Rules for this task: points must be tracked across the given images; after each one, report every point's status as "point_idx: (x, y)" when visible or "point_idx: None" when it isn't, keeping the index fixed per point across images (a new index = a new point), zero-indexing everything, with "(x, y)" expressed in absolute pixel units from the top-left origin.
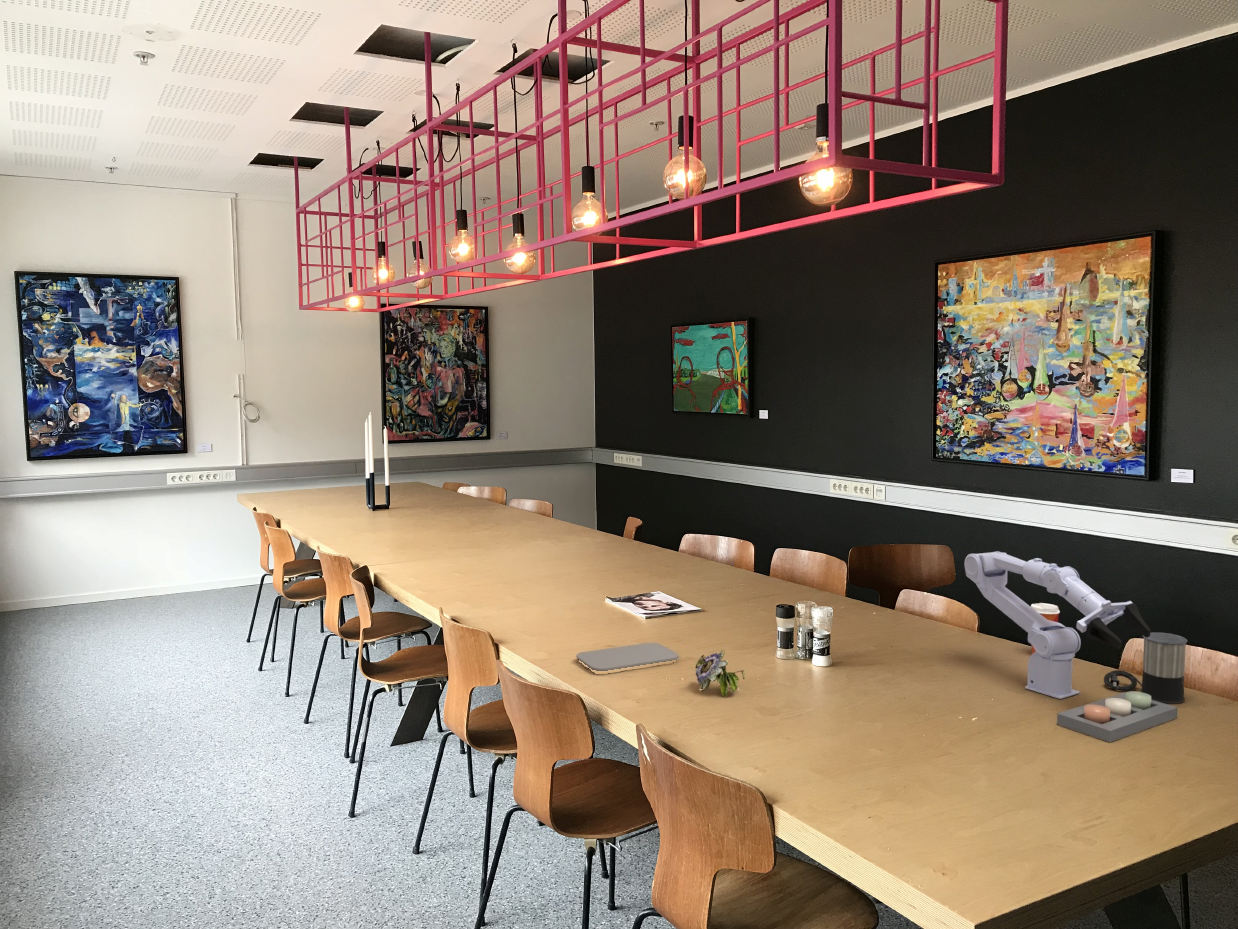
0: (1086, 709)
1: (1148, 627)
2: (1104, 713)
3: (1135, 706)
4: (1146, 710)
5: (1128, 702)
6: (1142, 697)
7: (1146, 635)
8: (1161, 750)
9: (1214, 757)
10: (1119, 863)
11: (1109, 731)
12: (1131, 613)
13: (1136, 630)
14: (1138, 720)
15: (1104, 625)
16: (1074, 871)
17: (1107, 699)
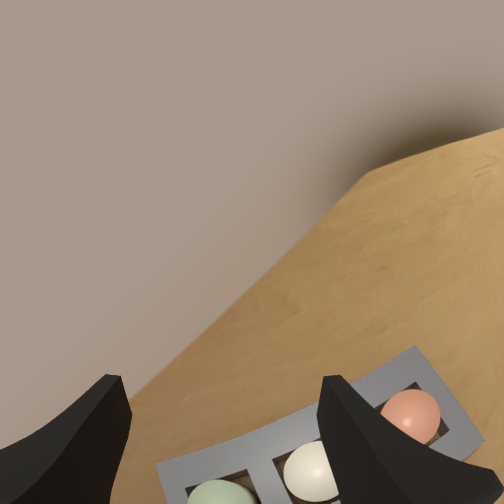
0: (439, 411)
1: (95, 383)
2: (406, 390)
3: (249, 492)
4: (243, 464)
5: (292, 463)
6: (222, 490)
7: (127, 410)
8: (331, 325)
9: (260, 299)
10: (469, 139)
11: (415, 347)
12: (50, 477)
13: (112, 483)
14: (314, 405)
15: (393, 466)
16: (493, 136)
17: (337, 489)
